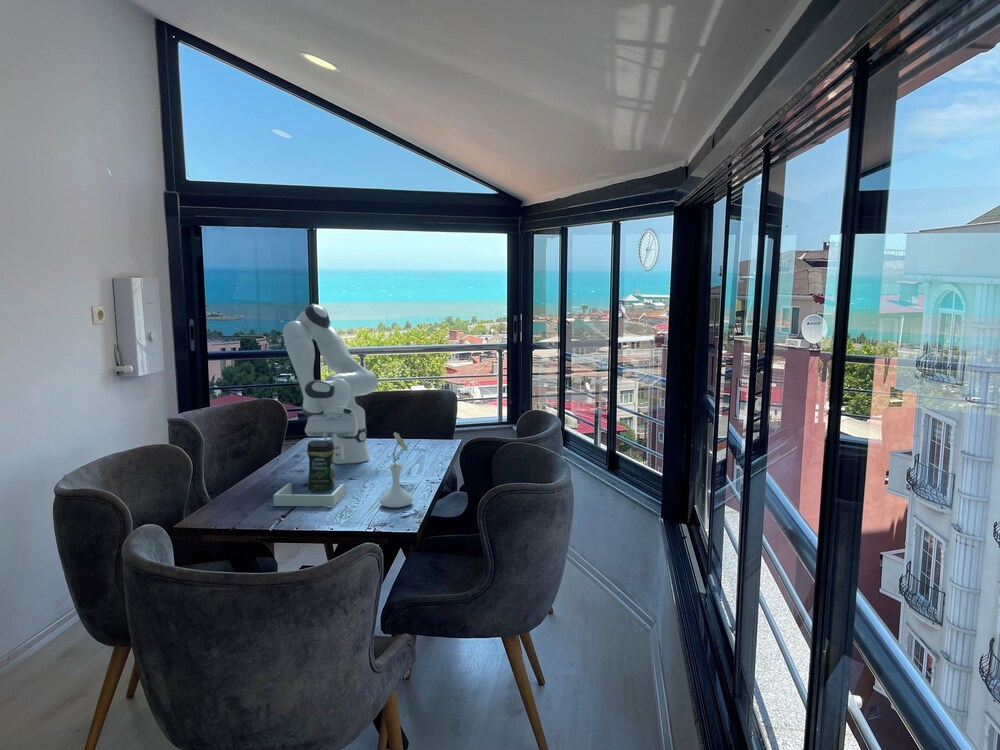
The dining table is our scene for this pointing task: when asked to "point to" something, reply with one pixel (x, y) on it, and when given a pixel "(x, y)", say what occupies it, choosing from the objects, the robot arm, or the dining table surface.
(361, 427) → the robot arm
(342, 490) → the report bay
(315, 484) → the coffee jar
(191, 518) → the dining table surface
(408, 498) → the flower in vase
